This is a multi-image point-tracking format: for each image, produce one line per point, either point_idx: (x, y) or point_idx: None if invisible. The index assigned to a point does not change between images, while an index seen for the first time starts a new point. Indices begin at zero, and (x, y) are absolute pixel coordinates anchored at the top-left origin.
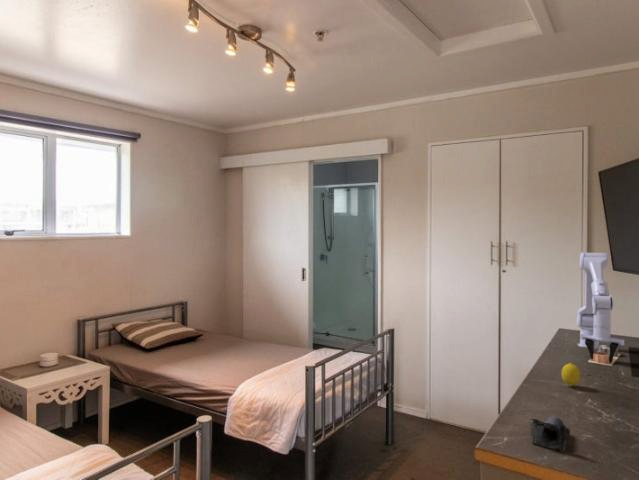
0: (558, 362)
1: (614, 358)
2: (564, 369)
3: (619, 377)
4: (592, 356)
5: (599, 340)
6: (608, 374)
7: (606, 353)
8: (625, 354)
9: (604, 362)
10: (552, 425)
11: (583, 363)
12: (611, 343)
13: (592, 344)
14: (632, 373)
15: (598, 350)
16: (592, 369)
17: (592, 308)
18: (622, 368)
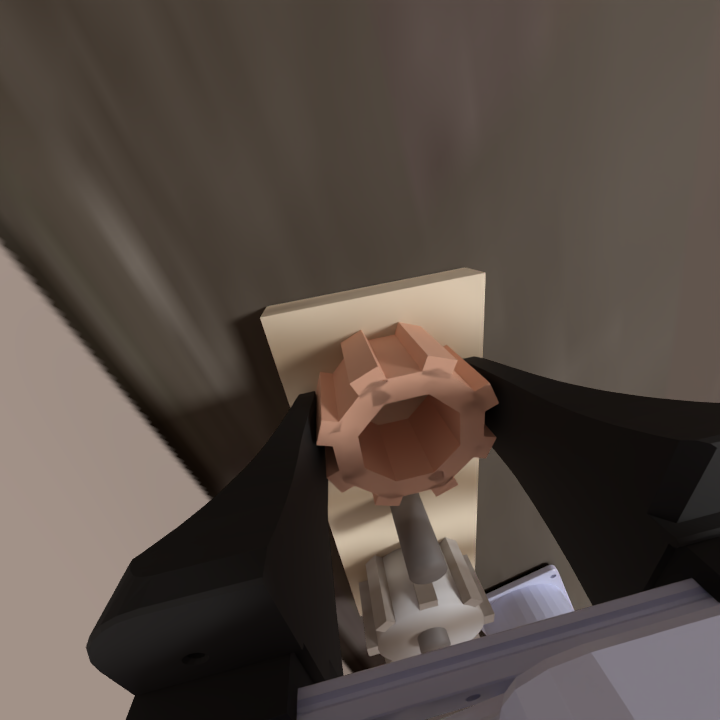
0: (709, 135)
1: (347, 528)
2: None
3: None
4: (477, 365)
5: (684, 616)
6: (176, 44)
7: (375, 487)
8: (362, 636)
9: (343, 345)
10: None
11: (503, 305)
12: (278, 683)
13: (601, 492)
14: (85, 336)
15: (473, 572)
16: (391, 142)
17: None
18: (233, 414)
